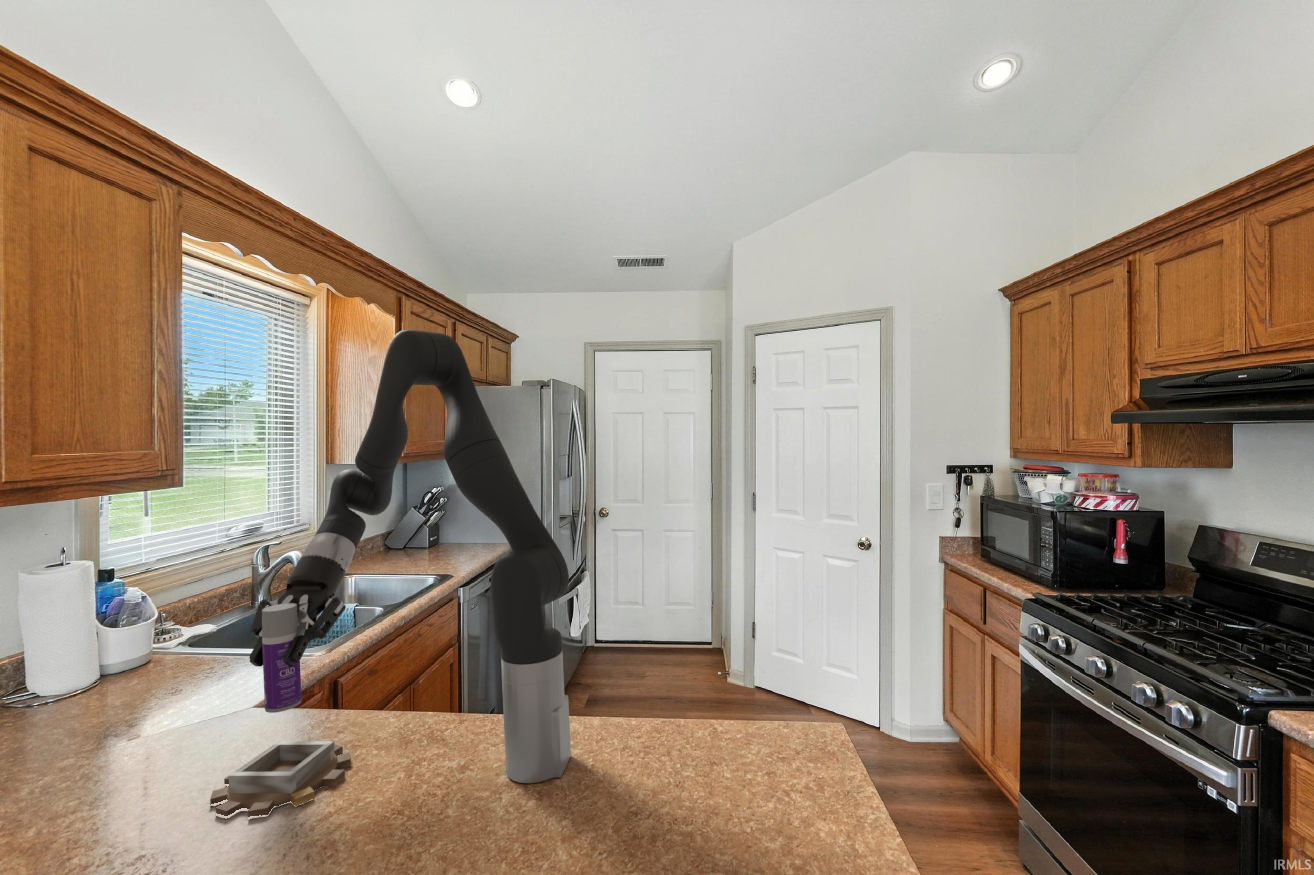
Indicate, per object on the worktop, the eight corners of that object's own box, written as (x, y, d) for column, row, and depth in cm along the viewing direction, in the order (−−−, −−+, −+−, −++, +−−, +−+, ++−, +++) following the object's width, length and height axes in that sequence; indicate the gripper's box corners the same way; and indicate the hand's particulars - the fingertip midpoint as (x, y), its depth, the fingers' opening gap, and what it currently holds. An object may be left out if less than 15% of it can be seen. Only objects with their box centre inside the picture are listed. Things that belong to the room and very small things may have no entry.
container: (283, 713, 83) (279, 611, 84) (257, 712, 84) (252, 611, 84) (308, 699, 88) (305, 603, 88) (283, 698, 89) (279, 602, 89)
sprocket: (373, 751, 94) (373, 728, 94) (298, 820, 76) (297, 792, 76) (274, 751, 95) (273, 729, 95) (177, 819, 78) (177, 792, 78)
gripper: (271, 554, 94) (211, 653, 82) (352, 552, 93) (303, 652, 81) (295, 579, 100) (242, 675, 87) (372, 576, 98) (329, 674, 86)
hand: (272, 663), depth 84 cm, fingers closed on container, 4 cm apart
